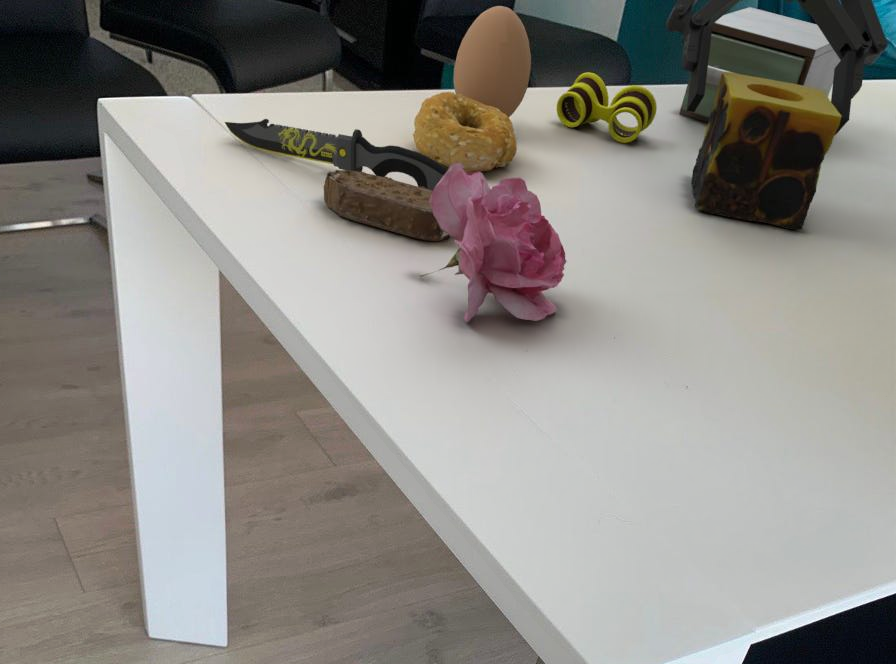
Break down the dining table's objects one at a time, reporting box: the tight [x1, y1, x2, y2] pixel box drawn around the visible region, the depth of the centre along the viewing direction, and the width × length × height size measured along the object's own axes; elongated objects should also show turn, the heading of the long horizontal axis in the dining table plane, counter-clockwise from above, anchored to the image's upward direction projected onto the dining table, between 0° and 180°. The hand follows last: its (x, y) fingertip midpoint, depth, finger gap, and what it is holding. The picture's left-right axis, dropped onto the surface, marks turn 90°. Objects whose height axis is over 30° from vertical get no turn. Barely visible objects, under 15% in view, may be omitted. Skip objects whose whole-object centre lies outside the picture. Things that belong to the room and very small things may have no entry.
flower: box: [419, 163, 568, 324], centre depth 72 cm, size 11×10×10 cm
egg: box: [453, 5, 532, 119], centre depth 103 cm, size 8×8×11 cm
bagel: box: [412, 91, 518, 173], centre depth 96 cm, size 10×11×5 cm
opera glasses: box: [556, 71, 657, 144], centre depth 109 cm, size 10×5×5 cm, turn 62°
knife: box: [224, 118, 449, 191], centre depth 88 cm, size 23×2×5 cm, turn 62°
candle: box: [690, 72, 842, 231], centre depth 95 cm, size 10×10×10 cm
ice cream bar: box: [323, 169, 451, 242], centre depth 81 cm, size 5×15×3 cm, turn 70°
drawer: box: [681, 33, 805, 117], centre depth 118 cm, size 19×12×8 cm, turn 148°
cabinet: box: [678, 6, 841, 124], centre depth 121 cm, size 16×13×10 cm
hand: (766, 115), depth 95 cm, fingers open, 13 cm apart
